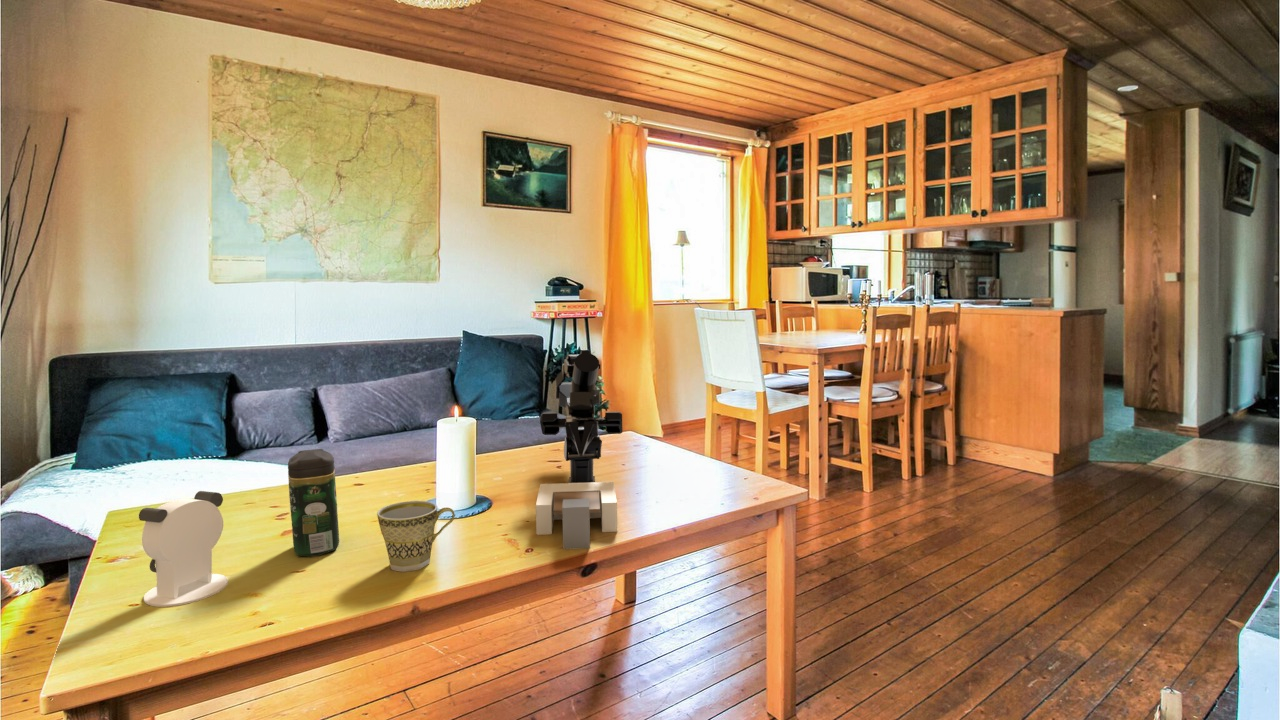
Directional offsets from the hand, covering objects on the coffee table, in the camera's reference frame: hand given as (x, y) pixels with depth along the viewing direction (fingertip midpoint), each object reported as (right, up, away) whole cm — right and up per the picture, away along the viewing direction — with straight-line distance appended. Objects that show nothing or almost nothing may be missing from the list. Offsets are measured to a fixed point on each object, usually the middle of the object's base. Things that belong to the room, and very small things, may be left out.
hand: (580, 455), depth 149 cm
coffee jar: (-48, -15, -23) cm, 55 cm away
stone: (+1, -10, -22) cm, 24 cm away
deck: (0, -12, -9) cm, 15 cm away
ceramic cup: (-26, -15, -30) cm, 43 cm away
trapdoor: (0, -8, -13) cm, 15 cm away
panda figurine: (-60, -16, -40) cm, 74 cm away
